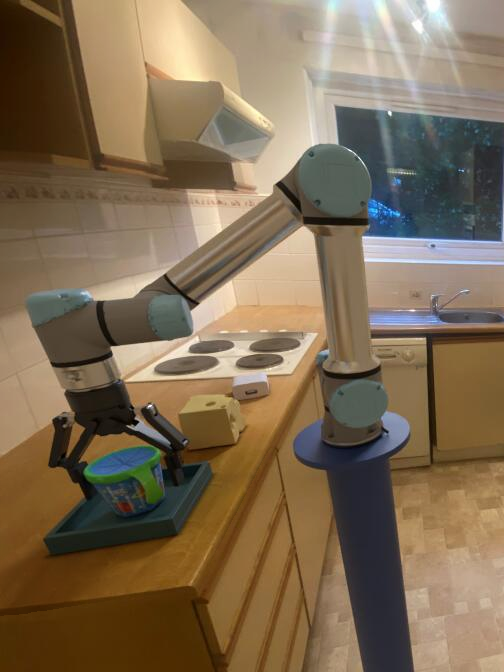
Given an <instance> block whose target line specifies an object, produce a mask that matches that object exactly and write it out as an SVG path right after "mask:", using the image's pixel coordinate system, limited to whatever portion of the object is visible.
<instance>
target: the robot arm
mask: <svg viewBox="0 0 504 672" xmlns="http://www.w3.org/2000/svg"><path fill="white" fill-rule="evenodd" d="M370 175H371V174H370V173H369V169H368V168H367V166H366V164H365V163H364V162H363V160H362V159H361V158H360V157H359V155H357V154H356V153H355V152H354V151H352V150H351V149H349V148H347V147H345V146H343V145H340V144H336V143H331V142H329V143H318V144H314V145H313V146H310V147H309V148H307V149H306V150H305V151H304V152H303V153H302V155H301V156H300V158H299V159H298V160H297V161H296V163H295V164H294V166H293V167H292V168H291V170H289V171H288V173H286V174H285V175H284V176H283V177H282V178H281V179H280V180H278V181H277V182H276V183H275V184H273V185H272V193H271V194H270V195H269V196H267V197H266V198H265V199H263V200H262V201H260V202H259V203H257V204H256V205H255V206H254V207H252V208H251V209H250V210H248V211H247V212H246V213H244V214H243V215H241V216H240V217H239V218H237V219H236V220H234V222H232V223H230V224H229V225H228V226H226V227H225V228H224V229H223V230H221V231H220V232H218V233H217V234H216V235H215V236H212V238H210V239H209V240H208V241H206V242H205V243H203V244H202V245H201V246H200V247H198V248H197V249H195V250H194V251H193V252H191V253H190V254H189V255H187V256H186V257H185V258H184V259H182V260H181V261H179V262H178V263H176V264H175V265H174V266H172V267H171V268H170V269H168V270H167V271H166V272H165V273H163V274H162V275H160V276H159V277H157V278H156V279H155V280H154V281H152V282H151V283H149V284H147V285H145V286H144V287H143V288H141V289H140V290H139V292H138V293H136V294H135V295H134V296H133V297H129V298H117V299H108V300H99V299H98V300H95V299H94V297H92V296H91V293H90V292H89V291H88V290H86V289H84V288H60V289H59V288H58V289H49V290H44V291H38V292H34V293H31V294H29V295H28V296H26V297H25V299H24V307H25V309H26V311H27V314H28V317H29V320H30V322H31V327H32V328H33V330H34V332H35V334H36V336H37V338H38V340H39V342H40V344H41V346H42V349H43V351H44V352H45V355H46V357H47V359H48V360H49V363H50V366H51V369H52V370H53V373H54V374H55V377H56V379H57V381H58V383H59V386H60V388H61V389H63V390H65V391H64V392H63V396H64V397H65V399H66V401H67V404H68V406H69V408H70V410H71V411H72V412H73V413H70V412H68V411H62V412H61V413H59V414H57V416H55V417H53V418H52V419H51V422H52V425H53V429H54V431H53V432H54V433H53V438H52V442H51V448H50V453H49V457H48V463H47V467H49V468H50V469H56V468H62V469H64V470H66V472H67V474H68V476H69V478H70V480H71V482H72V483H73V484H74V485H75V484H78V486H79V488H80V489H81V492H82V494H83V495H84V497H85V498H86V500H92V499H93V498H94V497H95V496H96V495H97V493H98V491H97V489H96V488H95V486H94V485H93V484H92V483H90V482H89V481H88V480H87V479H86V477H85V475H84V469H85V468H86V467H87V465H89V463H88V461H87V460H83V461H81V460H82V459H83V456H84V455H85V453H86V451H87V450H88V448H89V447H90V445H91V444H92V442H93V440H94V439H95V437H96V436H99V437H107V436H110V435H115V436H117V435H123V434H126V435H128V436H131V437H132V436H133V437H135V438H137V439H139V440H141V441H143V442H145V443H147V444H148V445H149V446H154V447H155V448H157V449H159V451H160V452H162V453H164V454H165V455H164V456H162V458H163V460H164V463H165V467H167V468H168V471H169V474H170V476H171V479H172V482H173V484H174V487H177V486H180V484H181V483H182V481H183V480H184V478H185V477H184V475H183V472H182V469H181V467H182V466H183V465H184V464H185V459H184V457H183V454H182V452H181V451H185V449H187V448H188V444H189V443H190V440H189V439H188V438H187V437H185V436H184V435H183V432H182V431H181V430H179V429H178V428H177V427H176V426H175V425H173V423H171V422H170V421H169V420H168V419H167V418H166V417H164V416H163V414H161V413H160V411H159V409H158V407H157V405H156V404H155V403H154V402H152V401H151V402H147V403H146V404H145V405H141V406H134V404H132V402H131V397H130V393H129V391H128V389H127V386H126V383H125V380H123V379H121V377H122V373H121V371H120V368H119V366H118V363H117V361H116V358H115V355H114V353H113V350H112V348H111V347H120V346H129V345H138V344H146V343H147V344H148V343H156V342H167V341H168V342H170V341H171V342H172V341H174V340H178V339H183V338H189V337H191V336H192V335H193V333H194V320H193V315H192V311H193V310H194V309H196V308H197V307H199V306H200V304H202V303H203V302H204V301H206V300H207V299H208V298H209V297H211V296H213V294H215V293H216V292H218V291H219V290H220V289H221V288H223V287H224V286H225V285H226V284H228V283H229V282H231V281H232V280H233V279H235V278H237V276H239V275H240V274H241V273H242V272H243V271H245V270H246V269H248V268H249V267H250V266H252V265H253V264H255V263H256V262H257V261H258V260H260V259H261V258H262V257H263V256H265V255H267V254H268V253H269V252H271V251H272V250H273V249H274V248H276V247H277V246H278V245H280V244H281V243H283V241H285V240H286V239H287V238H289V237H290V236H291V235H293V234H294V233H295V232H297V231H298V230H299V229H300V228H303V227H304V228H306V229H307V230H308V231H309V232H310V233H312V235H313V239H314V247H315V254H316V255H315V256H316V263H317V264H316V265H317V270H318V279H319V287H320V293H321V301H322V310H323V317H324V318H323V319H324V325H325V332H326V341H327V349H325V350H322V351H320V352H318V353H317V354H316V356H315V367H316V369H317V375H318V380H319V385H320V386H319V387H320V392H321V397H322V402H323V409H324V413H323V418H322V419H323V423H322V425H321V438H322V442H323V443H324V444H325V445H326V446H329V447H331V448H336V449H351V448H358V447H362V446H365V445H368V444H370V443H372V442H374V441H376V440H378V439H379V438H380V437H381V436H382V435H383V433H384V432H385V433H387V434H388V433H389V431H388V430H386V429H385V428H384V424H383V421H382V419H381V417H382V416H383V415H384V413H385V412H386V411H388V410H387V409H388V406H389V395H388V394H389V393H388V392H387V389H386V388H385V386H384V383H383V374H382V373H383V372H382V362H381V359H380V358H379V357H378V356H377V355H375V354H374V353H373V344H372V332H371V321H370V310H369V298H368V289H367V288H368V287H367V275H366V264H365V263H366V262H365V254H364V241H363V236H364V234H365V233H366V231H368V230H369V228H370V214H369V203H370V200H371V196H372V190H373V189H372V179H371V178H372V177H371V176H370ZM137 415H138V416H139V417H140V418H138V417H137ZM141 419H144V420H145V421H146V422H147V424H148V425H149V426H151V427H149V426H148V425H147V424H145V421H143V420H141ZM75 424H77V425H78V426H80V427H82V428H84V430H83V431H82V433H81V434H80V436H79V439H78V440H77V442H76V443H75V445H74V447H73V448H72V450H71V451H70V453H69V455H68V451H69V446H70V441H71V437H72V432H73V426H74V425H75ZM132 426H133V427H132ZM67 455H68V456H67Z"/></svg>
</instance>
